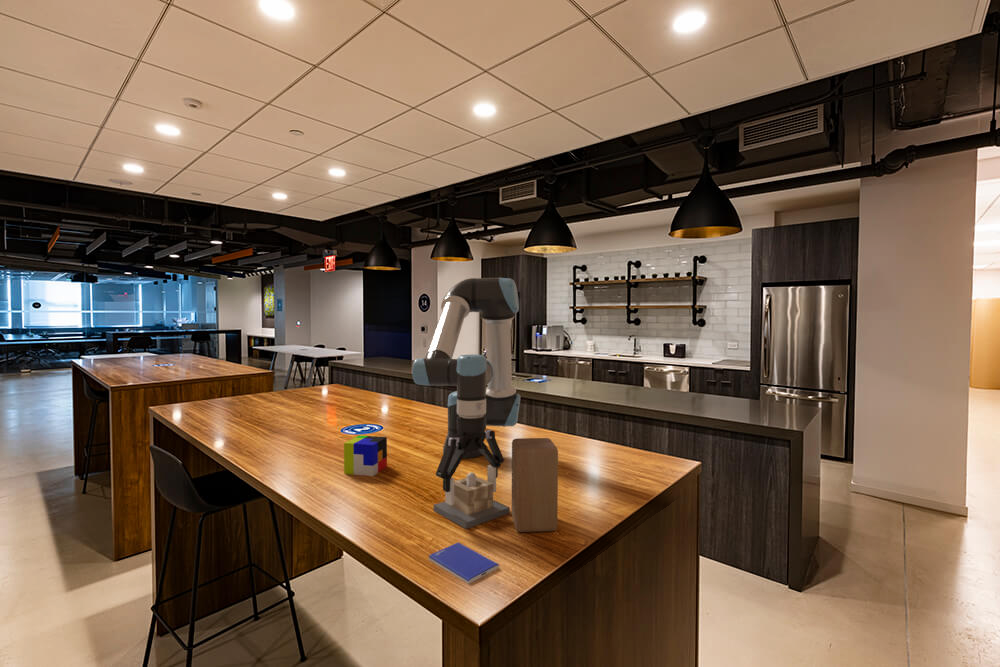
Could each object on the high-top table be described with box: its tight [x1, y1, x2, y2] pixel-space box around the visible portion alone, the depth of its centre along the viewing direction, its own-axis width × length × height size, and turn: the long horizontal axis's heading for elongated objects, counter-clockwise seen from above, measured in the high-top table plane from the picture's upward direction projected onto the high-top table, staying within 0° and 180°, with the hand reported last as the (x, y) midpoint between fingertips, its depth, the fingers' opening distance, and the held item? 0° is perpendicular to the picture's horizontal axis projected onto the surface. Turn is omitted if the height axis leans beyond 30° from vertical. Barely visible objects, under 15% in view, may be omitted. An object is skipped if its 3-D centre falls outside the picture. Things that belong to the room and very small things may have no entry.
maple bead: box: [450, 476, 494, 515], centre depth 122 cm, size 8×8×6 cm
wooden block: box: [511, 437, 559, 533], centre depth 114 cm, size 10×10×20 cm
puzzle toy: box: [343, 434, 388, 477], centre depth 155 cm, size 10×10×10 cm
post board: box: [432, 472, 511, 530], centre depth 121 cm, size 14×14×10 cm
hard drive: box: [428, 542, 500, 585], centre depth 96 cm, size 2×8×12 cm
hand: (471, 497), depth 122 cm, fingers open, 13 cm apart
